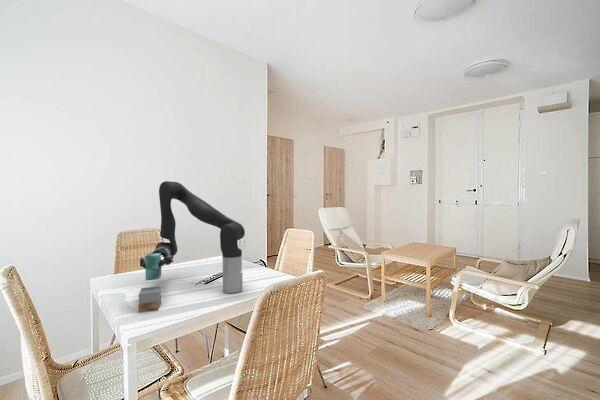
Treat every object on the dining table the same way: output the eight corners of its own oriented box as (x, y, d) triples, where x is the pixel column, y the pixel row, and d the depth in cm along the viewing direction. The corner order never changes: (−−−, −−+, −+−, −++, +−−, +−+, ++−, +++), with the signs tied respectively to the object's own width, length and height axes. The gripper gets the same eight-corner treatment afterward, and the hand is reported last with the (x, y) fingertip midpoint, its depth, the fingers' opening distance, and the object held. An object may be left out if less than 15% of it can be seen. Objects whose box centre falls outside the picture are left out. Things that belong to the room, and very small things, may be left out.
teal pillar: (161, 275, 121) (160, 252, 120) (159, 279, 116) (158, 255, 116) (148, 276, 119) (148, 253, 119) (145, 280, 114) (145, 256, 114)
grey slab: (160, 295, 120) (160, 286, 120) (158, 301, 113) (158, 291, 113) (141, 297, 117) (141, 288, 117) (139, 303, 111) (138, 293, 111)
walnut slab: (161, 304, 120) (160, 295, 120) (158, 311, 113) (157, 301, 113) (142, 306, 118) (142, 297, 118) (138, 313, 111) (138, 303, 111)
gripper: (143, 249, 129) (132, 257, 113) (176, 247, 133) (170, 255, 117) (143, 265, 129) (132, 275, 113) (176, 262, 133) (171, 273, 117)
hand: (152, 265), depth 115 cm, fingers closed on teal pillar, 5 cm apart
